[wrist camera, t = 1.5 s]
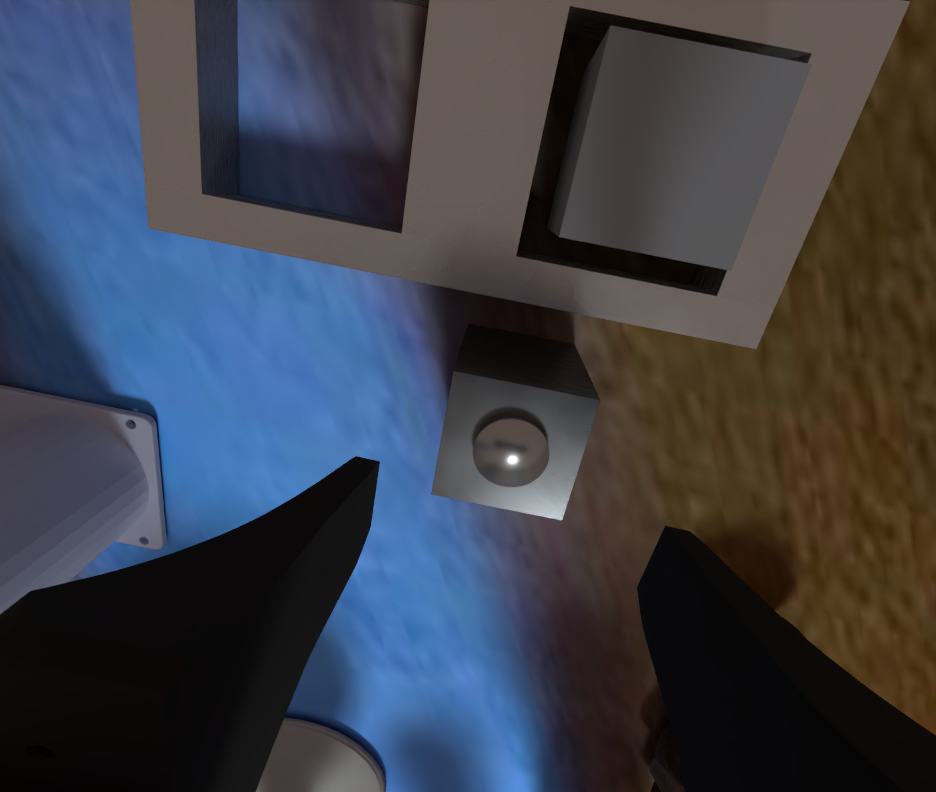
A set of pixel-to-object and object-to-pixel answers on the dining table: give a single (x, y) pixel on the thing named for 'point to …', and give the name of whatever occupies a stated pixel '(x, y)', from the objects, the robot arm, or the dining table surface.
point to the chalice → (318, 762)
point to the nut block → (515, 422)
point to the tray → (508, 149)
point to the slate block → (672, 146)
